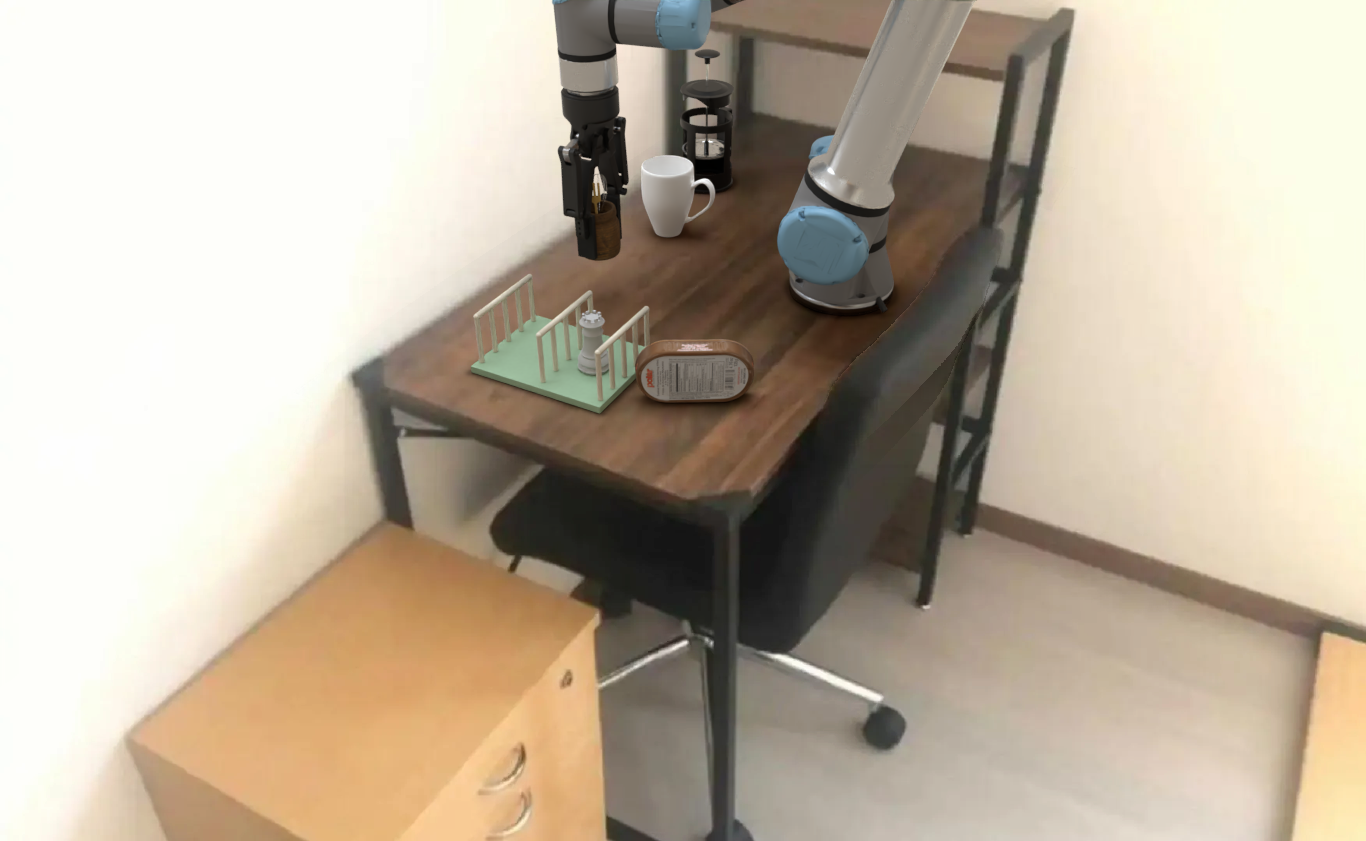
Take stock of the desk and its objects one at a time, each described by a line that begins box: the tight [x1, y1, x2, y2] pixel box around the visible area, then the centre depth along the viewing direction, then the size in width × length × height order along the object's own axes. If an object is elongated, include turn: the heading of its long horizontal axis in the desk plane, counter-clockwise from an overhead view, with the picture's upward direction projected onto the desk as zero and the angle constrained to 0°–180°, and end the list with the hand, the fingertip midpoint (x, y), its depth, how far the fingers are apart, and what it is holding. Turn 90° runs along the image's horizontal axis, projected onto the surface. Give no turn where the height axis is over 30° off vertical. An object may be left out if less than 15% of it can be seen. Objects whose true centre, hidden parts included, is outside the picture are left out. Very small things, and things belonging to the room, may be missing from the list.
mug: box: [640, 154, 716, 238], centre depth 178 cm, size 12×8×11 cm
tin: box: [635, 338, 755, 404], centre depth 141 cm, size 15×3×8 cm, turn 92°
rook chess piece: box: [578, 309, 609, 375], centre depth 145 cm, size 4×4×8 cm
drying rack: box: [470, 273, 651, 415], centre depth 148 cm, size 20×15×8 cm
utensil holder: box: [585, 173, 622, 262], centre depth 156 cm, size 6×6×12 cm
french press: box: [679, 48, 735, 195], centre depth 191 cm, size 12×9×23 cm
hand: (600, 246), depth 159 cm, fingers closed on utensil holder, 6 cm apart
